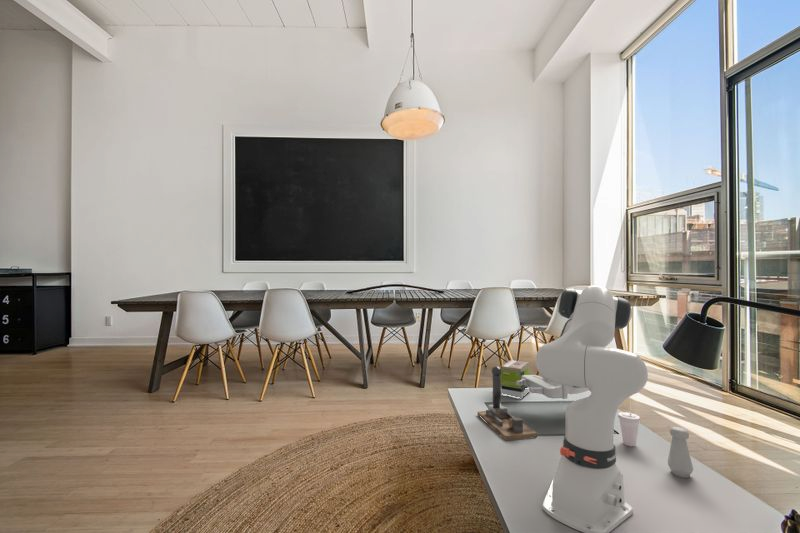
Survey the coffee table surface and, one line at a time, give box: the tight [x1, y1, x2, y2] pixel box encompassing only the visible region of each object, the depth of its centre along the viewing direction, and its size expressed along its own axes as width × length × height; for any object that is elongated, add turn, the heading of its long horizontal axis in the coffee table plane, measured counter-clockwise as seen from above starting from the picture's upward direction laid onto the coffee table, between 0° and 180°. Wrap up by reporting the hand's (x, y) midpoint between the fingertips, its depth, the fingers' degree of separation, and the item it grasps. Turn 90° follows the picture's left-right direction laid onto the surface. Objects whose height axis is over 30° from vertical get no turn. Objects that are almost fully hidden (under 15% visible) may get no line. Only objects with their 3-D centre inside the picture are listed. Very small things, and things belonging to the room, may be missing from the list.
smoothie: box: [617, 402, 641, 447], centre depth 120 cm, size 6×6×14 cm
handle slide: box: [487, 365, 508, 418], centre depth 141 cm, size 6×5×19 cm
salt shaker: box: [667, 426, 694, 479], centre depth 102 cm, size 6×6×13 cm
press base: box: [477, 409, 538, 442], centre depth 135 cm, size 23×12×6 cm, turn 13°
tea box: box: [500, 359, 531, 398], centre depth 172 cm, size 15×10×15 cm, turn 144°
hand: (523, 386), depth 144 cm, fingers open, 8 cm apart
